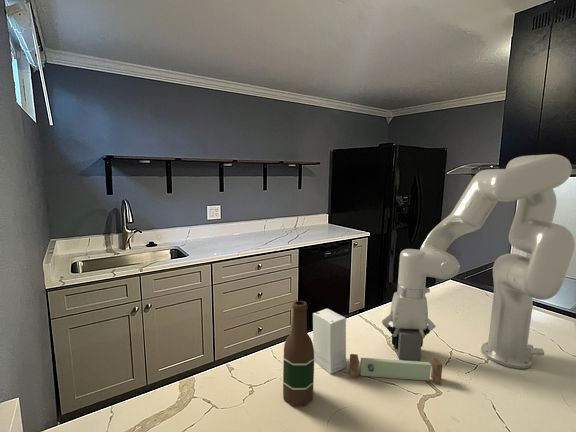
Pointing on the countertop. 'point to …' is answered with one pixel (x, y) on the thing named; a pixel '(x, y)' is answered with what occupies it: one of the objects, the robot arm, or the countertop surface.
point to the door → (395, 369)
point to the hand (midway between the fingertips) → (406, 346)
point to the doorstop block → (409, 344)
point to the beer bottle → (298, 360)
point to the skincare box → (329, 340)
